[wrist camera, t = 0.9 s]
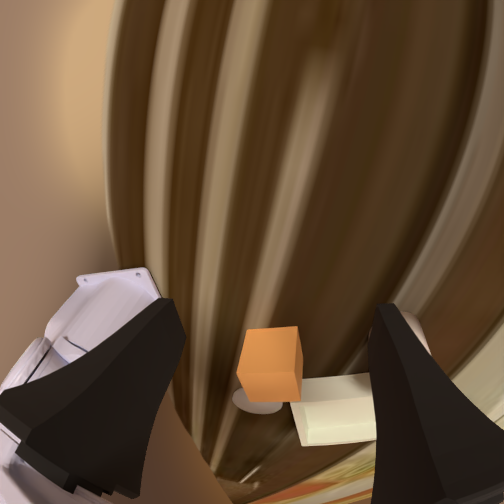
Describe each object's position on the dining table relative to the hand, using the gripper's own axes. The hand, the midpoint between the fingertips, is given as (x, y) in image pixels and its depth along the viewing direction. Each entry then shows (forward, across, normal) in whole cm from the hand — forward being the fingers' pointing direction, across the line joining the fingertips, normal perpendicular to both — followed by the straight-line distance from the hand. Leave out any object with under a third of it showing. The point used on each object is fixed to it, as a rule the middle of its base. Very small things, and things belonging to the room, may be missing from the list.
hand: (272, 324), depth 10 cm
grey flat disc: (+11, +5, +24) cm, 26 cm away
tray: (+10, -7, +24) cm, 27 cm away
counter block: (+11, +2, +13) cm, 17 cm away
